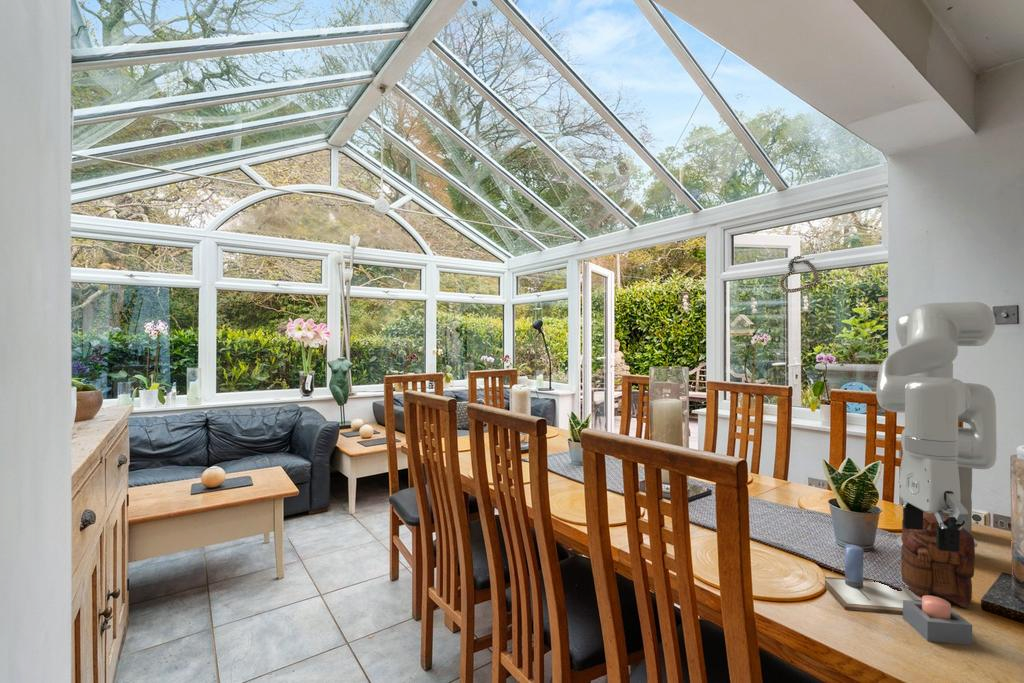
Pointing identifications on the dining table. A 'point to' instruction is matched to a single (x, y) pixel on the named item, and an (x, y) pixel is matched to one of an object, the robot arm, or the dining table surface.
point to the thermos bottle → (966, 494)
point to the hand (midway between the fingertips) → (929, 538)
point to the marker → (854, 566)
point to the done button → (936, 607)
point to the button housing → (937, 625)
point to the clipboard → (869, 596)
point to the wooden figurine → (937, 563)
